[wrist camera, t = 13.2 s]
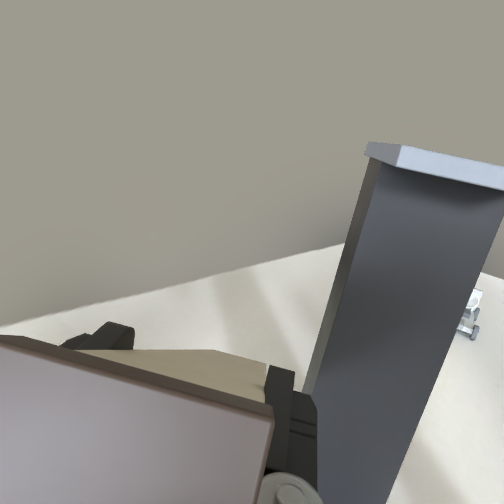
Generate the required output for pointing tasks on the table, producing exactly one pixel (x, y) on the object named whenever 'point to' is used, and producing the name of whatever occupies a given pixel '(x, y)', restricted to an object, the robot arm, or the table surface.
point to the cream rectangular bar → (130, 425)
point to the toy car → (471, 315)
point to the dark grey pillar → (396, 310)
